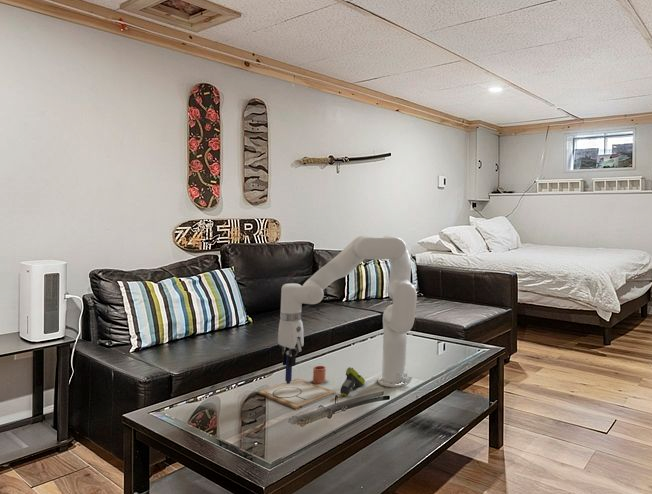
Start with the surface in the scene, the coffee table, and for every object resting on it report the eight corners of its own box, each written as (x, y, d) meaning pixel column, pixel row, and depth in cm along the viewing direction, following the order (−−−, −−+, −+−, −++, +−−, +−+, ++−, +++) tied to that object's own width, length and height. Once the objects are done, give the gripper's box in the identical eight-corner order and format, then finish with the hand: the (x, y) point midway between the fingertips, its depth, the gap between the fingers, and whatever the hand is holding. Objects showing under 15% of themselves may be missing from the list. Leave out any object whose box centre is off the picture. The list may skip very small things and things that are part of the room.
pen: (292, 383, 186) (293, 351, 186) (287, 384, 184) (288, 352, 184) (288, 381, 187) (290, 350, 187) (284, 383, 186) (285, 351, 185)
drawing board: (335, 394, 186) (335, 391, 186) (296, 409, 171) (296, 406, 171) (297, 380, 199) (298, 378, 199) (258, 393, 184) (258, 390, 184)
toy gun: (357, 404, 191) (366, 379, 197) (343, 393, 180) (352, 366, 186) (352, 403, 192) (360, 378, 198) (337, 392, 181) (347, 365, 187)
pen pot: (327, 382, 198) (328, 367, 198) (318, 385, 194) (318, 370, 194) (319, 379, 201) (320, 365, 201) (310, 382, 197) (310, 367, 197)
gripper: (312, 318, 184) (310, 367, 184) (285, 311, 193) (284, 358, 193) (296, 321, 178) (294, 372, 178) (269, 314, 187) (267, 363, 187)
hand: (289, 364), depth 186 cm, fingers closed on pen, 2 cm apart
